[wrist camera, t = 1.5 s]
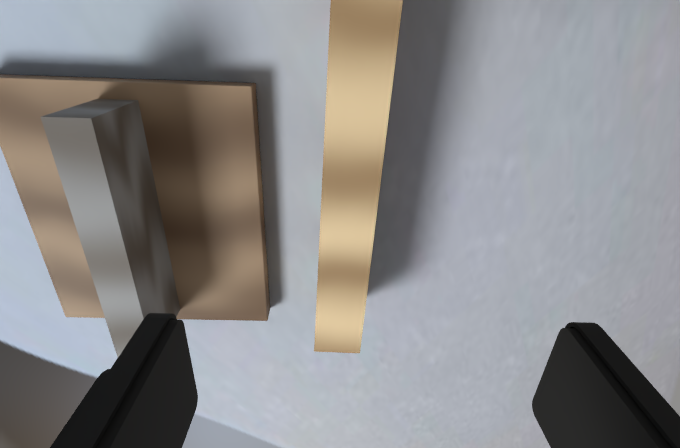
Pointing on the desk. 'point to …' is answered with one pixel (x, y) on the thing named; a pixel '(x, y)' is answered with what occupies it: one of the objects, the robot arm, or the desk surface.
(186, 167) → the stand
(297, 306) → the desk surface
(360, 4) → the oak batten
